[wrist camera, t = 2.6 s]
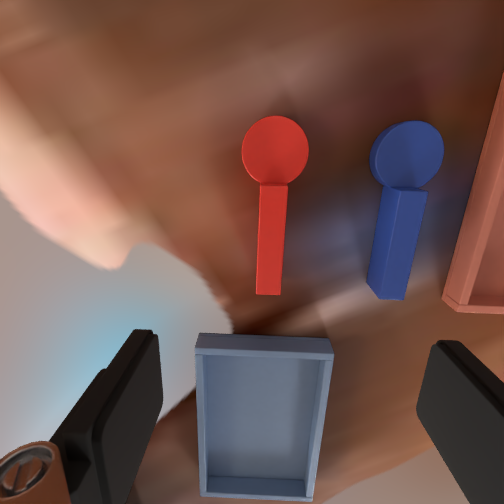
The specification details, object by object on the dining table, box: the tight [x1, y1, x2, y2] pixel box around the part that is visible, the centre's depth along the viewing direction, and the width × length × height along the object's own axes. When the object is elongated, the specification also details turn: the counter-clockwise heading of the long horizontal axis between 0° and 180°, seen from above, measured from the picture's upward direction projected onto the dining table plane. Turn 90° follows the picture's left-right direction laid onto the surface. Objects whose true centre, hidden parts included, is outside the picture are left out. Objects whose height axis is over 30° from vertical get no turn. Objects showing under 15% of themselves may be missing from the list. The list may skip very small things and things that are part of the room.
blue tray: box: [195, 333, 334, 502], centre depth 25 cm, size 16×10×2 cm, turn 178°
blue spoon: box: [366, 120, 444, 300], centre depth 19 cm, size 11×4×3 cm, turn 178°
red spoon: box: [242, 116, 309, 295], centre depth 19 cm, size 11×4×3 cm, turn 178°
